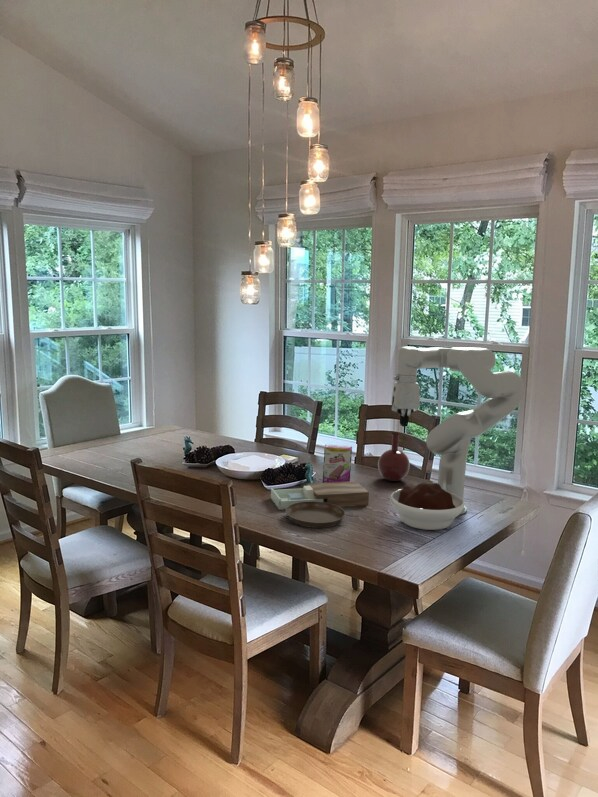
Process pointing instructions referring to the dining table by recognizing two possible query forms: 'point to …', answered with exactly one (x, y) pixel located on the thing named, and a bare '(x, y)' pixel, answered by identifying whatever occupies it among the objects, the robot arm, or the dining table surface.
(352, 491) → the wooden board
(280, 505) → the tray
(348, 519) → the dining table surface
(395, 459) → the round-bottom flask
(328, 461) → the candy bar box
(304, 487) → the cream tile
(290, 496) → the slate tile
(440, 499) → the white serving bowl
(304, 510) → the plant saucer
